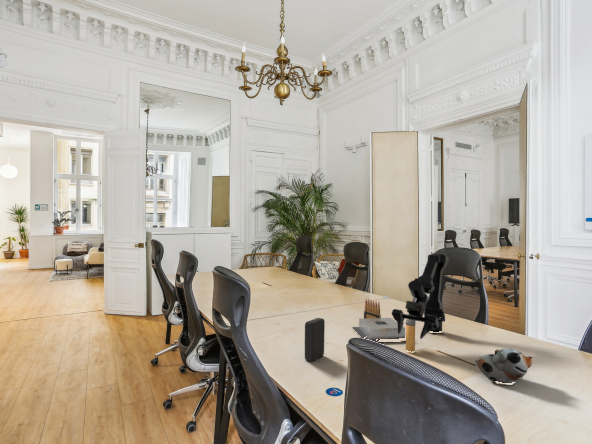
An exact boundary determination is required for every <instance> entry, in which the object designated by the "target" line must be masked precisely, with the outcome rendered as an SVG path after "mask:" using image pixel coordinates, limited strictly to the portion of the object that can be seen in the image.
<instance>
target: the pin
mask: <svg viewBox="0 0 592 444" xmlns="http://www.w3.org/2000/svg"><path fill="white" fill-rule="evenodd" d="M405 335H406V342H405V351H406V350H408V351H411V352H412V351H415V352H416V321H415V320H411V319H405Z"/></svg>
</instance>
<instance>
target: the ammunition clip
mask: <svg viewBox="0 0 592 444" xmlns="http://www.w3.org/2000/svg"><path fill="white" fill-rule="evenodd" d="M367 299H368V300H367ZM363 318H382V315H381V305H380V301H378V302H377V301H375V300H372V299H370V298H365V302H364V311H363Z"/></svg>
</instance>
